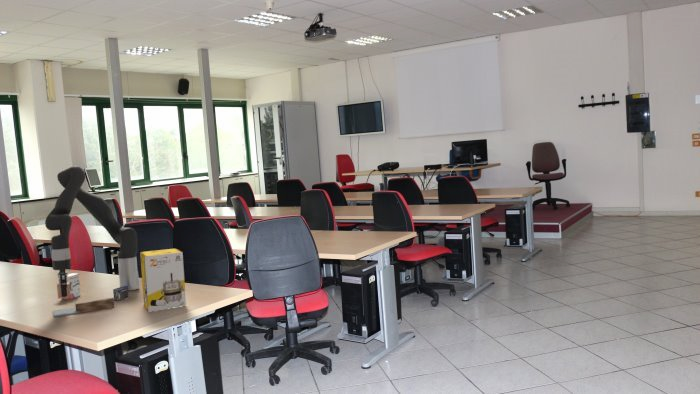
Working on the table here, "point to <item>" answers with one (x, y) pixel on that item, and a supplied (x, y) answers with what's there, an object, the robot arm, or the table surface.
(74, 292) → the ink box
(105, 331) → the table surface
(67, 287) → the terracotta block
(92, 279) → the table surface
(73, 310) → the slate mat
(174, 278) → the packaging box
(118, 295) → the mini dv tape
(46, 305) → the table surface
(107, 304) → the walnut screen
